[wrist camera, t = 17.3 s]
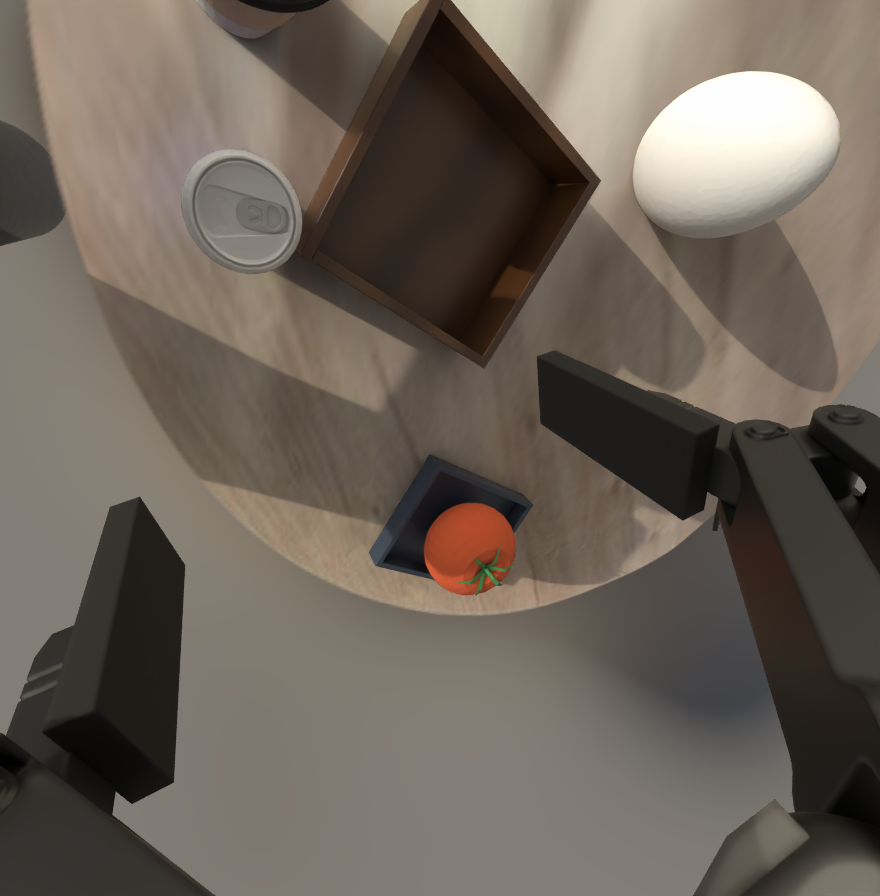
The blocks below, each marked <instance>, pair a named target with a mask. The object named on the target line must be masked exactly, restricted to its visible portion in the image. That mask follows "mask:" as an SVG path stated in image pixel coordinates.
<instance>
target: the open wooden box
mask: <svg viewBox="0 0 880 896" xmlns="http://www.w3.org/2000/svg"><path fill="white" fill-rule="evenodd" d="M600 181H601V180H600V179H599V178H598V176H597V175H596V174H595V173H594V171H593V170H592V169H591V168H590V167H589V165H588V164H587V163H586V162H585V161H584V159H583V158H582V157H581V156H580V155H579V153H578V152H577V151H576V150H575V149H574V147H573V146H572V145H571V144H570V143H569V141H568V140H567V139H566V138H565V137H564V135H563V134H562V133H561V132H560V131H559V129H558V128H557V127H556V126H555V125H554V123H553V122H552V121H551V120H550V119H549V117H548V116H547V115H546V114H545V113H544V111H543V110H542V109H541V108H540V107H539V105H538V104H537V103H536V102H535V101H534V99H533V98H532V97H531V96H530V95H529V93H528V92H527V91H526V90H525V89H524V87H523V86H522V85H521V84H520V83H519V81H518V80H517V79H516V78H515V77H514V75H513V74H512V73H511V72H510V71H509V69H508V68H507V67H506V66H505V65H504V63H503V62H502V61H501V60H500V59H499V57H498V56H497V55H496V54H495V53H494V51H493V50H492V49H491V48H490V47H489V45H488V44H487V43H486V42H485V41H484V39H483V38H482V37H481V36H480V35H479V33H478V32H477V31H476V30H475V29H474V27H473V26H472V25H471V24H470V23H469V21H468V20H467V19H466V18H465V17H464V15H463V14H462V13H461V12H460V11H459V9H458V8H457V7H456V6H455V5H454V3H453V2H452V1H451V0H419V1H418V2H417V3H416V4H415V5H414V6H413V7H412V8H410V9H409V10H408V11H407V12H406V13H405V15H404V17H403V19H402V21H401V23H400V25H399V27H398V29H397V31H396V33H395V35H394V37H393V39H392V41H391V43H390V45H389V47H388V49H387V51H386V53H385V55H384V57H383V59H382V61H381V63H380V65H379V67H378V69H377V71H376V73H375V75H374V77H373V79H372V81H371V83H370V85H369V87H368V89H367V91H366V93H365V95H364V97H363V99H362V101H361V103H360V105H359V107H358V109H357V111H356V113H355V115H354V117H353V119H352V121H351V123H350V125H349V127H348V129H347V131H346V133H345V135H344V137H343V139H342V141H341V143H340V145H339V147H338V149H337V151H336V153H335V155H334V157H333V159H332V161H331V163H330V165H329V167H328V169H327V171H326V173H325V175H324V177H323V179H322V181H321V183H320V185H319V187H318V189H317V191H316V193H315V195H314V197H313V199H312V201H311V203H310V205H309V207H308V209H307V211H306V213H305V215H304V217H303V219H302V232H301V236H300V240H299V243H298V245H297V247H296V249H295V251H297V252H298V253H300V254H301V255H303V256H305V257H306V258H308V259H309V260H311V261H313V262H314V263H316V264H317V265H319V266H321V267H322V268H324V269H325V270H327V271H329V272H330V273H332V274H333V275H335V276H337V277H338V278H340V279H341V280H343V281H345V282H346V283H348V284H349V285H351V286H353V287H354V288H356V289H357V290H359V291H361V292H362V293H364V294H365V295H367V296H369V297H370V298H372V299H374V300H375V301H377V302H378V303H380V304H382V305H383V306H385V307H386V308H388V309H390V310H391V311H393V312H394V313H396V314H398V315H399V316H401V317H402V318H404V319H406V320H407V321H409V322H410V323H412V324H414V325H415V326H417V327H418V328H420V329H422V330H423V331H425V332H426V333H428V334H430V335H431V336H433V337H434V338H436V339H438V340H439V341H441V342H442V343H444V344H446V345H447V346H449V347H450V348H452V349H454V350H455V351H457V352H458V353H460V354H462V355H463V356H465V357H466V358H468V359H470V360H471V361H473V362H474V363H476V364H478V365H479V366H481V367H482V368H485V366H486V365H487V363H488V362H489V360H490V358H491V357H492V355H493V354H494V352H495V350H496V349H497V347H498V346H499V344H500V342H501V341H502V339H503V337H504V336H505V334H506V333H507V331H508V329H509V328H510V326H511V325H512V323H513V321H514V320H515V318H516V317H517V315H518V313H519V312H520V310H521V309H522V307H523V305H524V304H525V302H526V300H527V299H528V297H529V296H530V294H531V292H532V291H533V289H534V288H535V286H536V284H537V283H538V281H539V280H540V278H541V276H542V275H543V273H544V272H545V270H546V268H547V267H548V265H549V264H550V262H551V260H552V259H553V257H554V255H555V254H556V252H557V251H558V249H559V247H560V246H561V244H562V243H563V241H564V239H565V238H566V236H567V235H568V233H569V231H570V230H571V228H572V227H573V225H574V223H575V222H576V220H577V218H578V217H579V215H580V214H581V212H582V210H583V209H584V207H585V206H586V204H587V202H588V201H589V199H590V198H591V196H592V194H593V193H594V191H595V190H596V188H597V186H598V185H599V183H600Z"/></svg>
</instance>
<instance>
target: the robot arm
mask: <svg viewBox="0 0 880 896" xmlns="http://www.w3.org/2000/svg"><path fill="white" fill-rule="evenodd" d="M537 368H538V386H539V404H540V422H541V424H542V425H544V426H545V427H547V428H548V429H549V430H551V431H552V432H554V433H555V434H557V435H558V436H560V437H561V438H563V439H564V440H566V441H567V442H568V443H570V444H571V445H573V446H574V447H576V448H577V449H579V450H580V451H582V452H583V453H585V454H586V455H588V456H589V457H590V458H592V459H593V460H595V461H596V462H598V463H599V464H601V465H602V466H604V467H605V468H607V469H608V470H609V471H611V472H612V473H614V474H615V475H617V476H618V477H620V478H621V479H623V480H624V481H626V482H627V483H629V484H630V485H631V486H633V487H634V488H636V489H637V490H639V491H640V492H642V493H643V494H645V495H646V496H648V497H649V498H650V499H652V500H653V501H655V502H656V503H658V504H659V505H661V506H662V507H664V508H665V509H667V510H668V511H670V512H671V513H672V514H674V515H675V516H677V517H678V518H680V519H681V520H685V519H687V518H689V517H691V516H693V515H695V514H696V513H698V512H700V511H702V510H704V507H705V501H706V496H707V492H709V493H711V494H712V495H714V496H716V497H717V498H718V503H717V507H716V512H715V517H714V522H713V531H717V529H718V525H719V524H720V523H721V525H722V528H723V532H724V535H725V539H726V542H727V545H728V549H729V552H730V555H731V559H732V562H733V566H734V569H735V572H736V576H737V579H738V582H739V586H740V589H741V592H742V596H743V599H744V603H745V606H746V609H747V613H748V616H749V620H750V623H751V626H752V630H753V633H754V636H755V640H756V643H757V647H758V650H759V653H760V657H761V660H762V663H763V666H764V670H765V673H766V677H767V680H768V683H769V687H770V690H771V694H772V697H773V701H774V704H775V707H776V710H777V714H778V717H779V721H780V724H781V728H782V731H783V734H784V738H785V741H786V744H787V748H788V751H789V754H790V759H791V763H792V771H793V776H792V777H793V778H792V795H793V804H794V809H795V812H793V813H787V812H786V811H785V810H784V808H783V807H782V806H781V805H780V804H779V803H778V802H777V801H776V800H775V799H774V800H773V801H772V802H771V803H769V804H768V805H767V806H765V807H764V808H763V809H761V810H760V811H759V812H758V813H757V814H755V815H754V816H752V817H751V818H750V819H749V820H747V821H746V822H745V823H743V824H742V825H741V826H740V827H738V828H737V829H736V830H734V831H733V832H732V833H731V834H729V835H728V836H727V837H726V839H725V841H724V842H723V844H722V846H721V848H720V849H719V851H718V853H717V855H716V856H715V858H714V860H713V862H712V864H711V865H710V867H709V869H708V870H707V872H706V874H705V876H704V878H703V880H702V881H701V883H700V885H699V886H698V888H697V890H696V892H695V893H694V895H693V896H880V418H879V417H878V416H876V415H875V414H873V413H870V412H868V411H866V410H864V409H860V408H857V407H855V406H850V405H847V406H845V405H827V406H823V407H819V408H818V409H816V410H815V411H814V412H813V416H812V419H811V422H810V425H808V426H802V427H797V428H791V429H789V428H787V427H785V426H783V425H781V424H779V423H775V422H771V421H767V420H746V421H743V422H740V423H737V424H735V423H733V422H730V421H728V420H726V419H723V418H721V417H719V416H716V415H714V414H712V413H709V412H707V411H705V410H703V409H700V408H698V407H695V408H694V407H693V405H691V404H689V403H686V402H682V401H681V400H679V399H677V398H675V397H672V396H670V395H668V394H664V393H659V392H654V391H649V390H648V391H645V390H643V389H640V388H638V387H636V386H634V385H631V384H629V383H627V382H625V381H622V380H620V379H618V378H616V377H614V376H611V375H609V374H607V373H605V372H602V371H600V370H598V369H596V368H593V367H591V366H589V365H587V364H584V363H582V362H580V361H578V360H575V359H573V358H571V357H569V356H566V355H564V354H562V353H560V352H558V351H555V350H554V351H552V352H549V353H546V354H543V355H540V356H537ZM858 476H859V477H861V478H862V480H863V481H864V483H865V485H866V487H867V488H866V490H865V492H864V493H863V494H862V493H860V492H859V491H858V490H857V489H856V488H855V487H854V486H855V484H856V481H857V479H858ZM184 578H185V564H184V563H183V561H182V560H181V558H180V557H179V555H178V554H177V552H176V551H175V549H174V548H173V546H172V545H171V543H170V542H169V540H168V539H167V537H166V535H165V534H164V532H163V531H162V530H161V528H160V526H159V525H158V523H157V522H156V520H155V519H154V518H153V516H152V514H151V513H150V511H149V510H148V508H147V507H146V505H145V504H144V502H143V501H142V499H141V498H140V497H138V498H135V499H132V500H129V501H126V502H123V503H120V504H118V505H115V506H112V507H110V509H109V512H108V515H107V519H106V522H105V525H104V528H103V532H102V535H101V538H100V542H99V545H98V548H97V552H96V555H95V558H94V561H93V565H92V568H91V571H90V575H89V578H88V581H87V585H86V588H85V591H84V595H83V598H82V601H81V604H80V608H79V611H78V614H77V618H76V621H75V624H74V626H71V627H69V628H66V629H64V630H61V631H59V632H57V633H54V634H52V635H51V637H50V638H49V639H48V641H47V642H46V643H45V645H44V646H43V647H42V649H41V650H40V651H39V652H38V654H37V655H36V657H35V658H34V661H33V664H32V666H31V669H30V672H29V674H28V677H27V681H28V683H26V684H25V685H24V688H23V691H22V694H21V696H20V698H21V701H20V702H18V704H17V707H16V710H15V713H14V715H13V718H12V721H11V723H10V726H9V729H8V732H7V734H6V736H5V735H4V734H2V733H0V896H215V895H214V894H212V893H211V892H210V891H209V890H207V889H206V888H205V887H204V886H202V885H201V884H200V883H198V882H197V881H196V880H195V879H193V878H192V877H191V876H189V875H188V874H187V873H186V872H185V871H183V870H182V869H181V868H179V867H178V866H177V865H176V864H174V863H173V862H172V861H170V860H169V859H168V858H167V857H165V856H164V855H163V854H162V853H160V852H159V851H157V849H155V848H154V847H153V846H152V845H150V844H149V843H148V842H146V841H145V840H144V839H143V838H141V837H140V836H139V835H137V834H136V833H135V832H134V831H132V830H131V829H130V828H129V827H127V826H126V825H125V824H124V823H122V822H121V821H120V820H118V819H117V818H116V817H114V816H113V815H112V813H113V806H114V799H115V793H116V792H117V793H119V794H120V795H121V796H123V797H124V798H125V799H126V800H127V801H129V802H130V803H131V804H133V803H135V802H137V801H139V800H141V799H142V798H144V797H146V796H148V795H150V794H152V793H154V792H156V791H158V790H160V789H162V788H164V787H166V786H168V785H170V784H172V783H173V782H174V768H175V749H176V730H177V729H176V728H177V711H178V710H177V709H178V692H179V673H180V653H181V634H182V616H183V615H182V614H183V597H184Z"/></svg>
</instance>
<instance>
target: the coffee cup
mask: <svg viewBox="0 0 880 896" xmlns="http://www.w3.org/2000/svg"><path fill="white" fill-rule="evenodd" d="M327 1H329V0H196V2H197V3H198V5H199V6H200V7H201V8H202V9H203V11H204V12H205V13H206V14H207V15H208V16H209V17H210V18H211V19H212V20H213V21H214V22H215V23H217V24H218V25H219V26H221V27H222V28H224V29H225V30H227V31H229V32H231V33H233V34H235V35H237V36H240V37H244V38H259V37H262V36H265V35H266V34H268V33H269V32H270V31H272V30H273V29H274V28H277V27H280V26H281V25H283V24H284V23H285V22H287V21H288V20H290V19H291V18H292V17H293V16H294V15H295V14H296V13H298V12H302V11H306V10H310V9H313V8H316V7H318V6H320V5H322V4H324V3H326V2H327Z"/></svg>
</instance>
